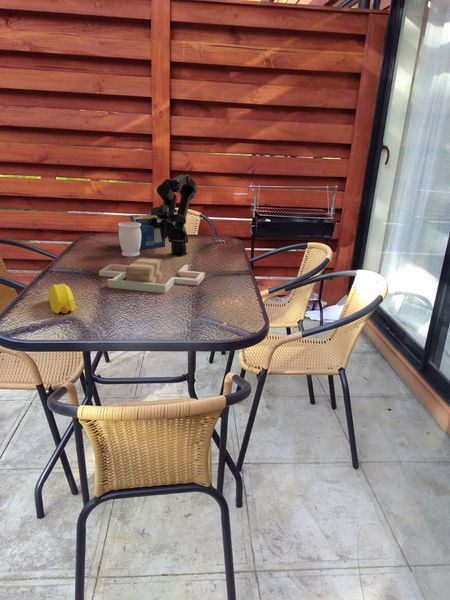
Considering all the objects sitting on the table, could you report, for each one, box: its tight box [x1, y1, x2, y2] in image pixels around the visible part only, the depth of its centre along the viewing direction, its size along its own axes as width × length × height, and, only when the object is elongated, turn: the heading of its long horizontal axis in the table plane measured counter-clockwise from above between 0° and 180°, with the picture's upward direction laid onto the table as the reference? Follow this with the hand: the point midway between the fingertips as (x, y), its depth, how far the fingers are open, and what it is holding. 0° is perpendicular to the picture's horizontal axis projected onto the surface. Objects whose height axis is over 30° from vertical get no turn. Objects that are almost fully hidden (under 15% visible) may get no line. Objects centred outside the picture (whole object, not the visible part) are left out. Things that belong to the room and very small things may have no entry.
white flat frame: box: [98, 263, 206, 294], centre depth 184 cm, size 32×42×3 cm
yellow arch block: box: [47, 283, 77, 314], centre depth 152 cm, size 18×7×8 cm
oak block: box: [126, 256, 163, 284], centre depth 178 cm, size 15×9×8 cm, turn 168°
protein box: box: [130, 213, 166, 250], centre depth 229 cm, size 10×15×16 cm
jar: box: [117, 221, 141, 258], centre depth 213 cm, size 11×10×15 cm
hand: (163, 239), depth 194 cm, fingers closed
